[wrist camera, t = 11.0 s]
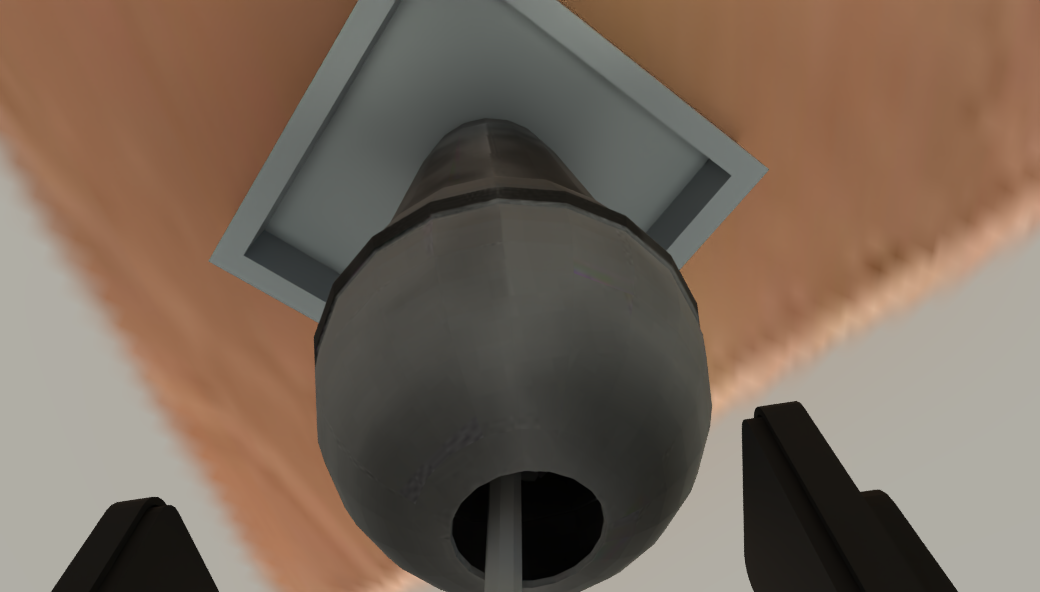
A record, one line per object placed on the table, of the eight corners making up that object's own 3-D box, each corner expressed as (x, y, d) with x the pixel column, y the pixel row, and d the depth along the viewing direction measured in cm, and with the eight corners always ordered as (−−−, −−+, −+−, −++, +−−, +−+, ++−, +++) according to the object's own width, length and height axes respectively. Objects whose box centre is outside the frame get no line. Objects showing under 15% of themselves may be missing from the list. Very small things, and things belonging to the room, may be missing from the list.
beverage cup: (642, 150, 23) (1240, 836, 5) (523, 318, 26) (659, 1167, 8) (450, 25, 21) (371, 470, 3) (341, 221, 24) (-45, 1087, 6)
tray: (430, -102, 20) (420, -108, 18) (738, 143, 24) (769, 169, 21) (239, 226, 25) (208, 261, 22) (524, 392, 28) (527, 439, 26)
